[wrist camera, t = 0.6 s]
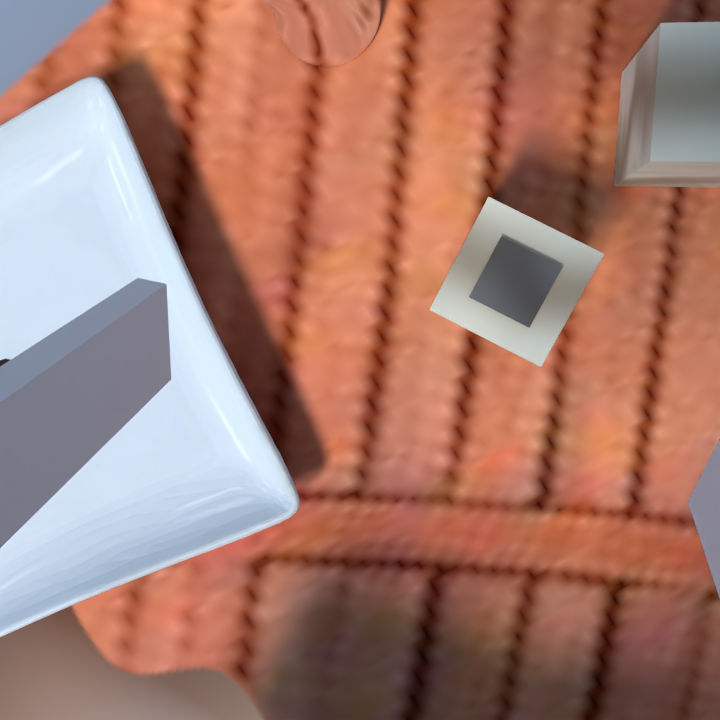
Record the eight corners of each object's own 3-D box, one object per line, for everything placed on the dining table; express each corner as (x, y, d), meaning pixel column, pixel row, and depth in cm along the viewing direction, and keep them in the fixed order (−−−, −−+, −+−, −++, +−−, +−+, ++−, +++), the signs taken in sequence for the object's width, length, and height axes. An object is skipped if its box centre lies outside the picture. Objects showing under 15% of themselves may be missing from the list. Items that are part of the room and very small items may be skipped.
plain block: (729, 187, 33) (792, 162, 27) (613, 186, 34) (649, 161, 28) (740, 71, 32) (806, 19, 27) (621, 73, 33) (660, 22, 27)
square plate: (-212, 281, 41) (-279, 278, 37) (131, 89, 37) (96, 64, 33) (-38, 643, 42) (-86, 677, 38) (318, 494, 38) (304, 516, 34)
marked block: (524, 357, 35) (541, 367, 29) (431, 309, 36) (429, 309, 30) (576, 262, 34) (605, 253, 28) (480, 214, 35) (488, 195, 29)
